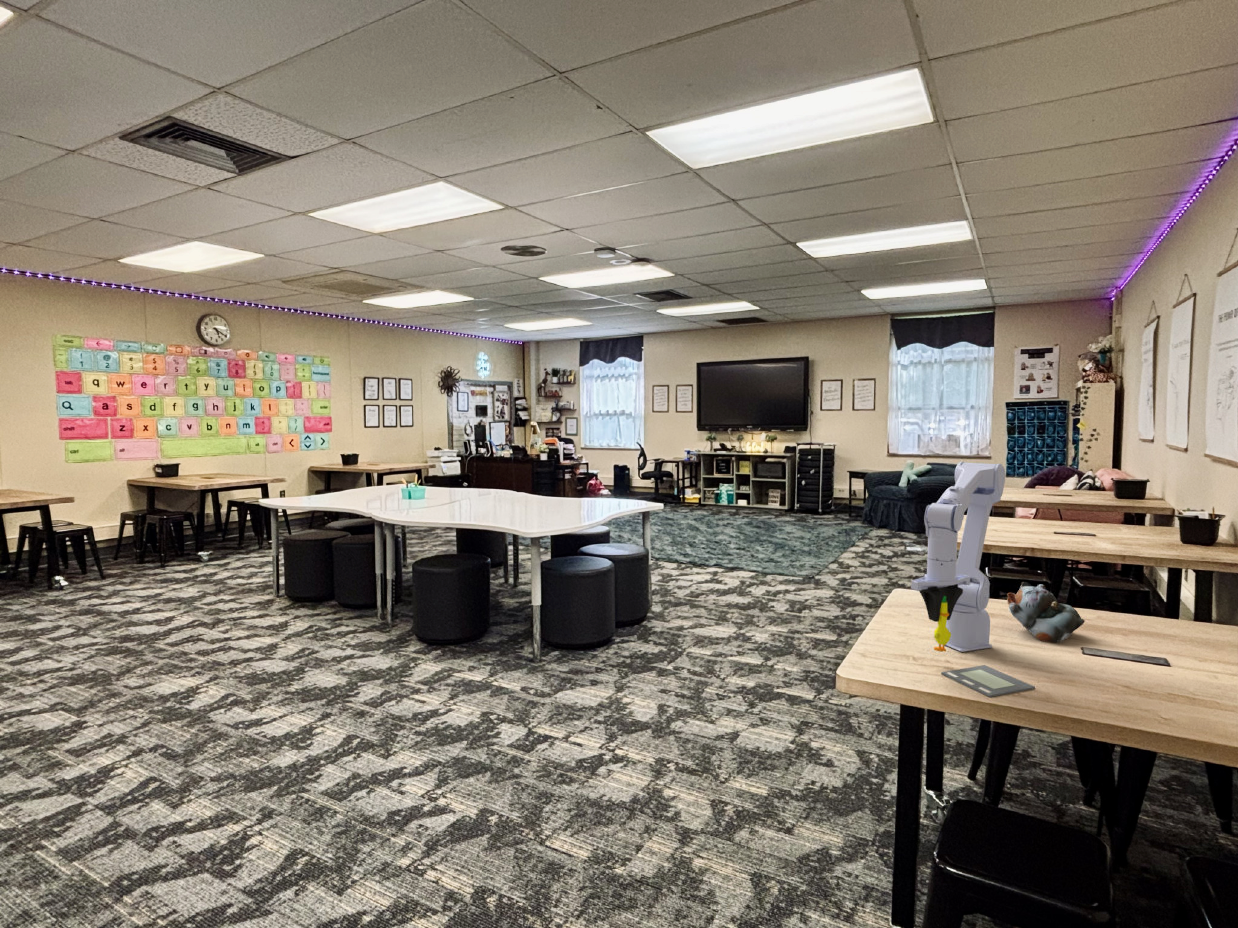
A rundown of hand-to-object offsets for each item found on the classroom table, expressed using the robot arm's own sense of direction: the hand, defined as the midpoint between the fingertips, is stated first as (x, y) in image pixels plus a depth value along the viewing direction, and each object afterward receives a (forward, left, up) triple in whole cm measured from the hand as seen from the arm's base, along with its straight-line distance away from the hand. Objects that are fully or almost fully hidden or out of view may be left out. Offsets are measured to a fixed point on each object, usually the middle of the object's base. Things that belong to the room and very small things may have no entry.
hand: (939, 619), depth 147 cm
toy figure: (0, +1, -7) cm, 7 cm away
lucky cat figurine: (-39, -6, -10) cm, 41 cm away
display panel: (-2, +11, -10) cm, 15 cm away
